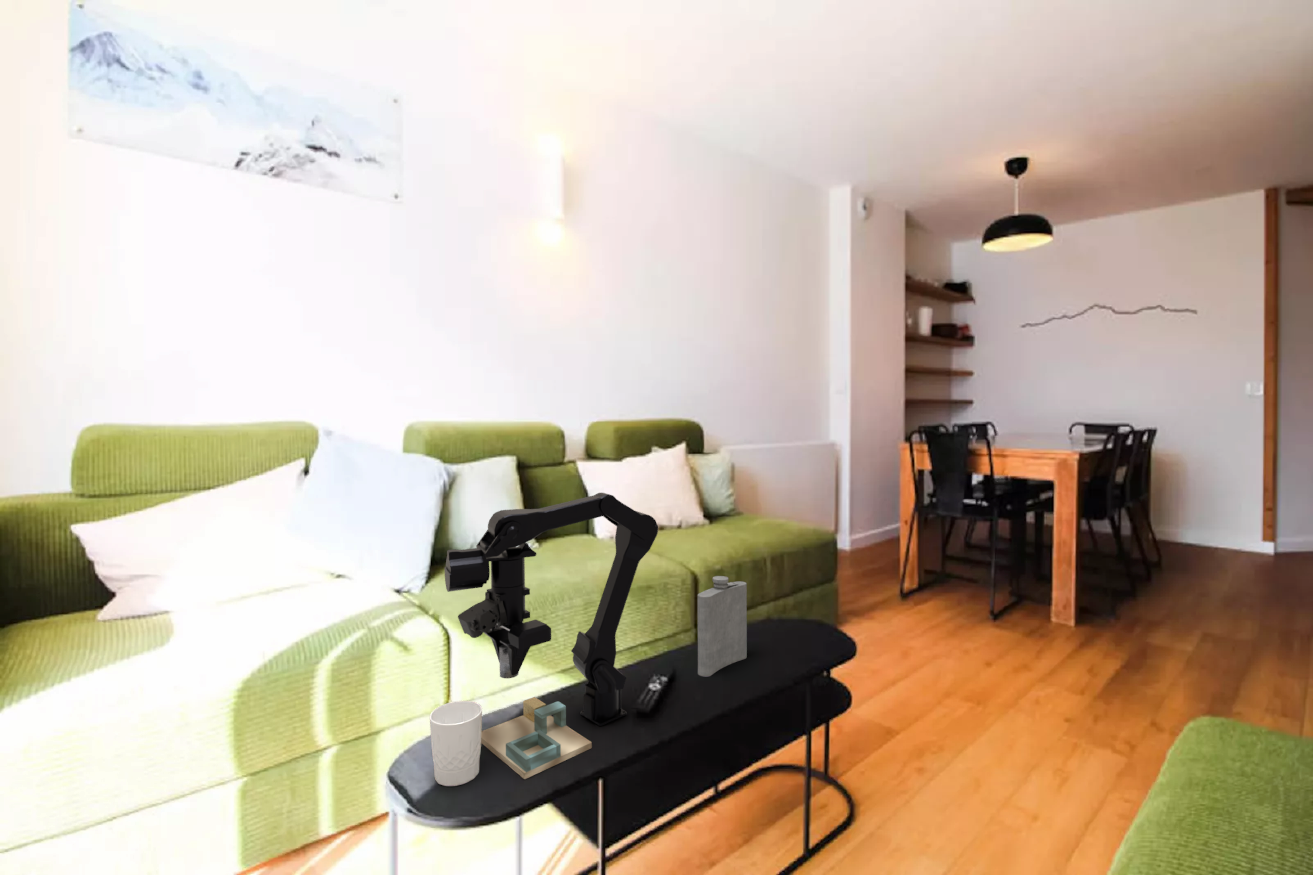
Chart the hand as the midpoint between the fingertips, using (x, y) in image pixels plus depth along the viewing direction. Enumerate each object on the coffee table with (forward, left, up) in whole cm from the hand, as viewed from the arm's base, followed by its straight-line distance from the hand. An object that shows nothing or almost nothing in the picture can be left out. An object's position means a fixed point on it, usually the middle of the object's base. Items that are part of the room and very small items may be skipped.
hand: (509, 671), depth 106 cm
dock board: (-2, +4, -12) cm, 13 cm away
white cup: (+11, +4, -12) cm, 17 cm away
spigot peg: (0, 0, 0) cm, 0 cm away
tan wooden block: (-6, -2, -11) cm, 13 cm away
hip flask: (-51, +5, -12) cm, 53 cm away
